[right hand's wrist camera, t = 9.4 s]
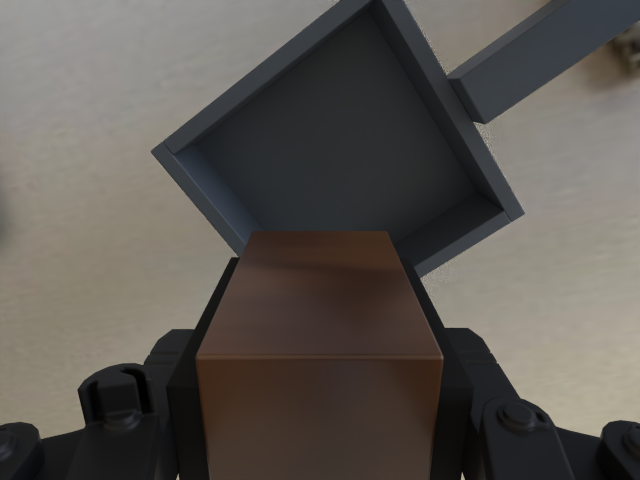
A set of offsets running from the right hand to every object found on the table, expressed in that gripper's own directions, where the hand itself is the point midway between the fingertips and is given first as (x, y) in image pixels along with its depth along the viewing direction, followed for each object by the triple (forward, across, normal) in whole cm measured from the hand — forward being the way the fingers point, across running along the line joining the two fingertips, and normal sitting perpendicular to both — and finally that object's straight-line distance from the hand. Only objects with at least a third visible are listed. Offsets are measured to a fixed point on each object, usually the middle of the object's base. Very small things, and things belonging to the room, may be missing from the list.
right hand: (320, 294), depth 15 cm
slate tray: (+13, +8, +7) cm, 17 cm away
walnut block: (0, 0, 0) cm, 0 cm away
